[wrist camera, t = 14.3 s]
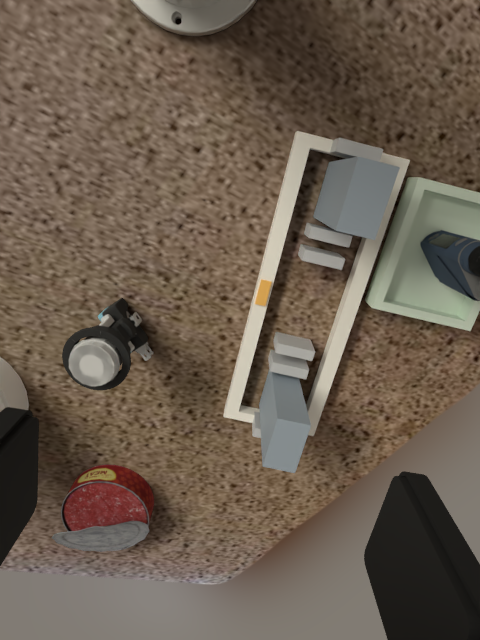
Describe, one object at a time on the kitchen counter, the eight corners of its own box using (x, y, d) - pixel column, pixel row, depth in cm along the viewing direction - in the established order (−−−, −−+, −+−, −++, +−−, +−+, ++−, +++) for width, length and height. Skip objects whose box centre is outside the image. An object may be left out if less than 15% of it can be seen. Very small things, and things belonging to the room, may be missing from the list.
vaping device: (441, 223, 36) (529, 243, 25) (464, 272, 38) (557, 313, 26) (414, 238, 37) (489, 265, 26) (438, 286, 38) (518, 332, 27)
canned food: (156, 453, 52) (182, 514, 44) (127, 516, 54) (147, 585, 46) (64, 447, 45) (75, 517, 37) (35, 518, 47) (40, 600, 39)
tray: (407, 177, 36) (419, 177, 34) (509, 203, 36) (527, 205, 34) (364, 300, 40) (371, 307, 37) (457, 322, 40) (470, 331, 38)
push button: (172, 340, 41) (150, 388, 32) (130, 365, 42) (97, 419, 33) (132, 286, 40) (96, 320, 30) (90, 314, 41) (42, 355, 31)
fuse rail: (295, 132, 35) (313, 115, 25) (404, 160, 35) (461, 154, 26) (224, 409, 44) (217, 473, 34) (311, 428, 45) (329, 495, 35)
